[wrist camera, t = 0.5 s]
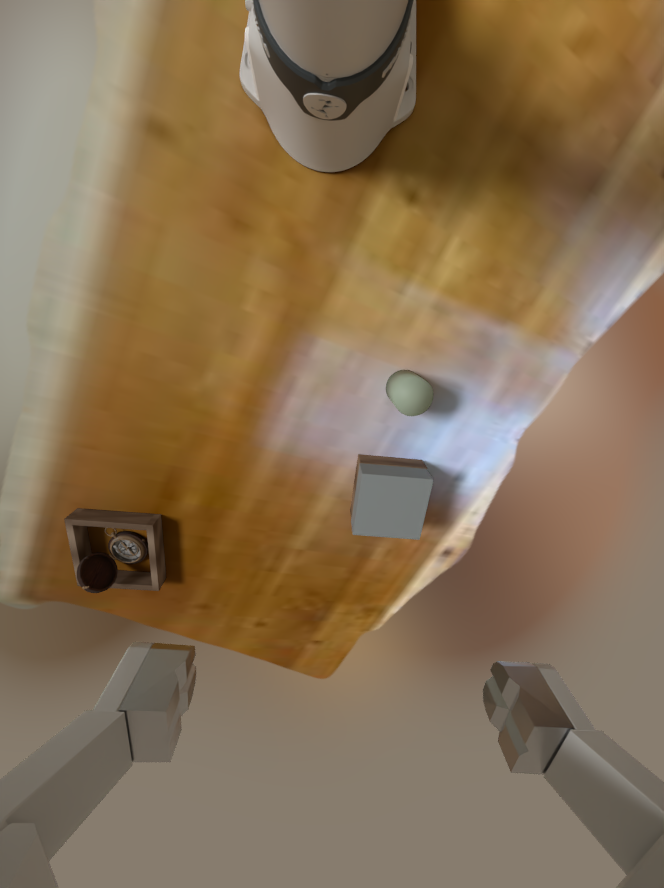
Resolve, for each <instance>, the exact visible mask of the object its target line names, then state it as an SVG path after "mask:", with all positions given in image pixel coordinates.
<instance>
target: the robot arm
mask: <svg viewBox="0 0 664 888" xmlns="http://www.w3.org/2000/svg"><path fill="white" fill-rule="evenodd" d="M245 5H246V9H247V10H248V11H249V17H248V23H247V27H246V28H245V41H244V47H243V53H242V59H241V65H240V80H241V85H242V87H243V89H244V91H245V92H246V94H247V95H248V96H249V97H250V98H251V99H252V100H253V101H254V102H255V103H256V104H257V105H258V106H259V107H260V108H261V109H262V111H263V113H264V114H265V116H266V118H267V120H268V123H269V125H270V127H271V129H272V131H273V133H274V135H275V137H276V138H277V140H278V142H279V143H280V144H281V146H282V147H283V148H284V150H285V151H286V152H287V153H288V154H289V155H290V156H291V157H292V158H294V159H295V160H296V161H298V162H299V163H301V164H302V165H304V166H306V167H308V168H311V169H313V170H317V171H322V172H338V171H343V170H346V169H349V168H351V167H354V166H355V165H357V164H359V163H360V162H362V161H363V160H364V159H366V158H367V157H368V156H369V155H370V154H371V153H372V152H373V151H374V150H375V148H376V147H377V146H378V144H379V143H380V142H381V140H382V139H383V137H384V136H385V135H386V133H387V132H388V131H389V130H390V129H391V128H393V127H395V126H396V125H398V124H400V123H401V122H403V121H404V120H406V119H407V118H408V117H409V116H410V115H411V113H412V112H413V110H414V106H415V102H416V0H245ZM406 87H407V91H406V92H405V89H406ZM194 658H195V646H187V645H174V644H162V643H149V642H133V644H132V645H131V646H130V647H129V648H128V649H127V651H126V653H125V654H124V656H123V658H122V660H121V661H120V663H119V665H118V667H117V669H116V670H115V672H114V674H113V676H112V677H111V679H110V681H109V683H108V684H107V686H106V688H105V690H104V691H103V693H102V695H101V697H100V699H99V700H98V702H97V704H96V706H95V707H94V709H93V710H86V711H84V712H83V713H82V714H81V715H79V716H78V717H77V718H76V719H74V720H73V721H72V722H71V723H70V724H68V725H67V726H66V727H65V728H63V729H62V730H61V731H60V732H58V733H57V734H56V735H55V736H53V737H52V738H51V739H50V740H48V741H47V742H46V743H45V744H43V745H42V746H41V747H40V748H38V749H37V750H36V751H35V752H34V753H32V754H31V755H30V756H28V757H27V758H26V759H25V760H23V761H22V762H21V763H20V764H19V765H17V766H16V767H15V768H13V769H12V770H11V771H10V772H8V773H7V774H6V775H5V776H3V777H2V778H1V779H0V888H58V884H57V882H56V879H55V876H54V874H53V871H52V869H51V866H50V863H49V861H50V859H51V858H52V857H53V856H54V855H55V853H56V852H57V851H58V850H59V849H60V848H61V847H62V846H63V844H64V843H65V842H66V841H67V840H68V839H69V837H70V836H71V835H72V834H73V833H74V832H75V831H76V830H77V828H78V827H79V826H80V825H81V824H82V823H83V821H84V820H85V819H86V818H87V817H88V816H89V815H90V813H91V812H92V811H93V810H94V809H95V808H96V807H97V805H98V804H99V803H100V802H101V801H102V800H103V798H104V797H105V796H106V795H107V794H108V793H109V791H110V790H111V789H112V788H113V787H114V786H115V785H116V783H117V782H118V781H119V780H120V779H121V778H122V776H123V775H124V774H125V773H126V772H127V771H128V770H129V769H130V767H131V766H132V762H171V759H172V756H173V753H174V750H175V747H176V745H177V741H178V739H179V736H180V733H181V716H182V715H183V714H184V713H185V712H186V711H187V710H188V708H189V705H190V702H191V699H192V695H193V691H194V686H195V680H196V666H195V665H194V664H193V661H194ZM491 672H492V675H493V677H491V678H490V679H488V680H487V681H486V683H485V685H484V688H483V702H484V706H485V710H486V713H487V715H488V718H489V720H490V722H491V723H492V724H493V725H494V726H495V727H496V728H497V729H498V730H499V731H500V732H499V738H498V742H499V745H500V747H501V749H502V752H503V754H504V757H505V759H506V762H507V764H508V766H509V769H510V771H511V772H513V773H529V774H544V778H545V779H546V780H547V781H548V782H549V784H550V785H551V786H552V787H553V788H554V789H555V791H556V792H557V793H558V794H559V796H560V797H561V798H562V799H563V800H564V801H565V803H566V804H567V805H568V806H569V807H570V808H571V810H572V811H573V812H574V813H575V814H576V816H577V817H578V818H579V819H580V820H581V822H582V823H583V824H584V825H585V826H586V827H587V829H588V830H589V831H590V832H591V833H592V835H593V836H594V837H595V838H596V839H597V840H598V842H599V843H600V844H601V845H602V846H603V847H604V849H605V850H606V851H607V852H608V853H609V855H610V856H611V857H612V858H613V859H614V861H615V862H616V863H617V864H618V865H619V866H620V868H621V869H622V870H623V871H624V872H625V874H626V875H627V876H626V877H625V878H624V879H623V880H622V881H621V883H620V884H619V885H618V886H617V887H616V888H664V782H663V781H662V780H660V779H659V778H658V777H657V776H656V775H655V774H653V773H652V772H651V771H650V770H648V769H647V768H646V767H645V766H644V765H642V764H641V763H640V762H639V761H638V760H636V759H635V758H634V757H633V756H632V755H630V754H629V753H628V752H627V751H625V750H624V749H623V748H622V747H621V746H620V745H618V744H617V743H616V742H615V741H613V740H612V739H611V738H610V737H609V736H607V735H606V734H605V733H604V732H603V731H598V730H595V728H594V727H593V725H592V723H591V722H590V720H589V719H588V717H587V716H586V714H585V713H584V711H583V710H582V708H581V707H580V705H579V704H578V702H577V701H576V699H575V697H574V696H573V694H572V693H571V692H570V690H569V688H568V687H567V685H566V684H565V682H564V681H563V679H562V678H561V676H560V675H559V673H558V672H557V670H556V669H555V668H554V667H553V666H552V665H550V664H537V663H529V662H501V661H500V662H499V661H497V662H495V663H494V664H493V665H492V668H491Z"/></svg>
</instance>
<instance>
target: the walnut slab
mask: <svg viewBox="0 0 664 888" xmlns="http://www.w3.org/2000/svg"><path fill="white" fill-rule="evenodd" d="M360 463H364V464H376V465H388V466H399V467H411V468H422V469H427V467H426V466H425V464H424V463H423V461H422V460H417V459H405V458H394V457H382V456H371V455H359V454H358V460H357V467H356V474H355V481H354V487H353V494H352V501H351V508H350V512H351V518H352V512H353V505H354V498H355V491H356V484H357V478H358V471H359V464H360Z"/></svg>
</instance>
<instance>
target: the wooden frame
mask: <svg viewBox="0 0 664 888" xmlns="http://www.w3.org/2000/svg"><path fill="white" fill-rule="evenodd" d="M64 520H65V525H66V530H67V535H68V540H69V545H70V550H71V554H72V559H73V564H74V569H75V574H76V579H77V573H76V572H77V568H78V565H79V564H80V562H81V561H82V560H83V559H84V558H85V557H87V556H89V555H91V554H92V552H91V547H90V541H89V535H88V529H87V526H93V527H107V528H121V529H135V530H147V539H148V549H149V559H150V569H151V572H138V571H121V570H117V571H118V573H117V578H116V580H115V583H114V584H113V585H112V586H111V587H110V588H120V589H137V590H154V591H159V590H160V588H161V586H162V584H163V583H164V581H165V579H166V568H165V556H164V544H163V531H162V519H161V514H147V513H134V512H120V511H106V510H93V509H79V508H77V509H76V510H75V511H74V512H72V513H71V514H70V515H69V516H67V517H66V518H65V519H64ZM77 584H78V586H80V584H79V583H78V580H77Z"/></svg>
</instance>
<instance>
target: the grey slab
mask: <svg viewBox="0 0 664 888" xmlns="http://www.w3.org/2000/svg"><path fill="white" fill-rule="evenodd" d="M433 480H434V479H433V478H432V476H431V475H430V473H429V472H428V470H427V469H422V468H411V467H399V466H388V465H376V464H364V463H360V464H359V471H358V478H357V484H356V491H355V498H354V505H353V512H352V518H351V524H352V532H353V535H363V536H377V537H391V538H404V539H418V540H420V536H421V531H422V527H423V523H424V519H425V514H426V510H427V506H428V502H429V497H430V493H431V489H432V485H433Z"/></svg>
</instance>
